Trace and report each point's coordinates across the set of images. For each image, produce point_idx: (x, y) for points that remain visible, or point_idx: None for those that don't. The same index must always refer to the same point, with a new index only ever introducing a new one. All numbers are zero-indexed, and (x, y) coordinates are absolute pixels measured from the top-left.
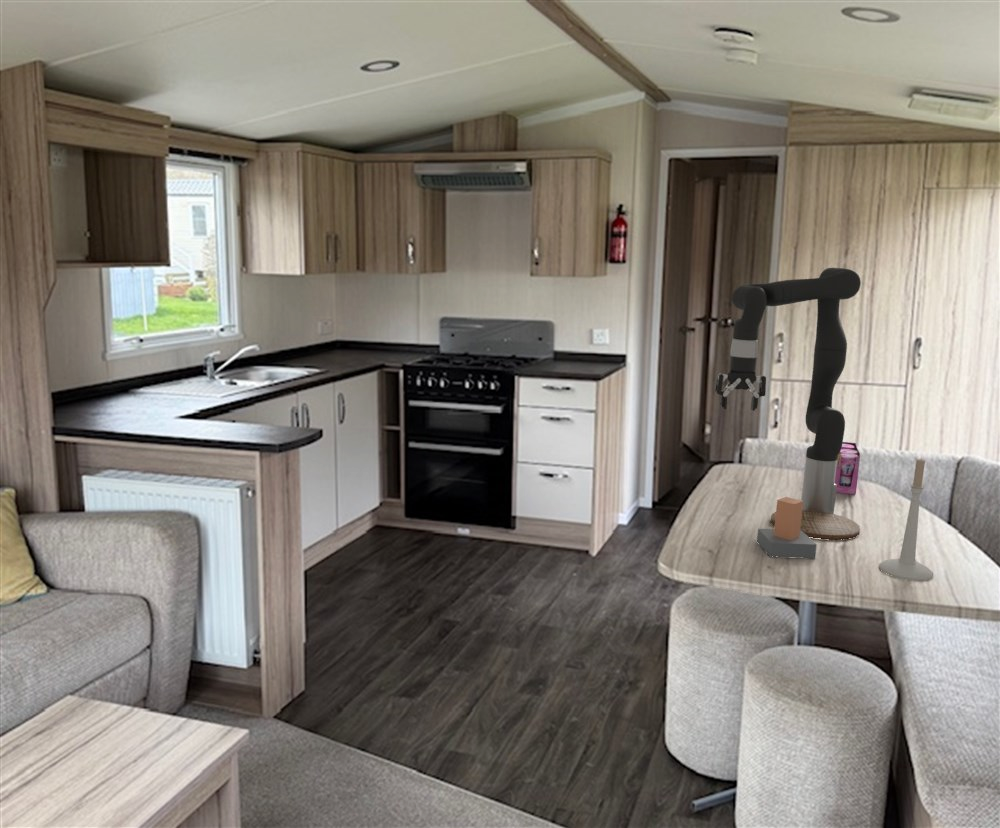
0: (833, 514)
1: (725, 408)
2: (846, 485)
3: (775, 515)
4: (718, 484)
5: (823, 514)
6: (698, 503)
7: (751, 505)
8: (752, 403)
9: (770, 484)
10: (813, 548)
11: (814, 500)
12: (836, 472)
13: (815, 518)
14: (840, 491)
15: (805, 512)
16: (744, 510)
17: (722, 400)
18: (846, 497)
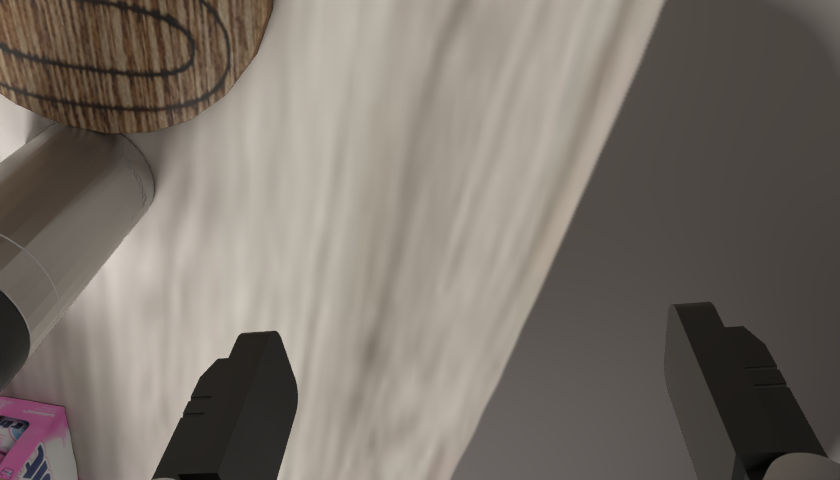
0: (5, 91)
1: (685, 305)
2: (6, 421)
3: (248, 2)
4: (442, 413)
5: (44, 79)
6: (568, 173)
7: (345, 196)
8: (262, 429)
9: None
10: None
11: (69, 150)
12: (18, 461)
13: (70, 2)
14: (35, 405)
15: (120, 90)
16: (380, 119)
17: (789, 409)
18: None
